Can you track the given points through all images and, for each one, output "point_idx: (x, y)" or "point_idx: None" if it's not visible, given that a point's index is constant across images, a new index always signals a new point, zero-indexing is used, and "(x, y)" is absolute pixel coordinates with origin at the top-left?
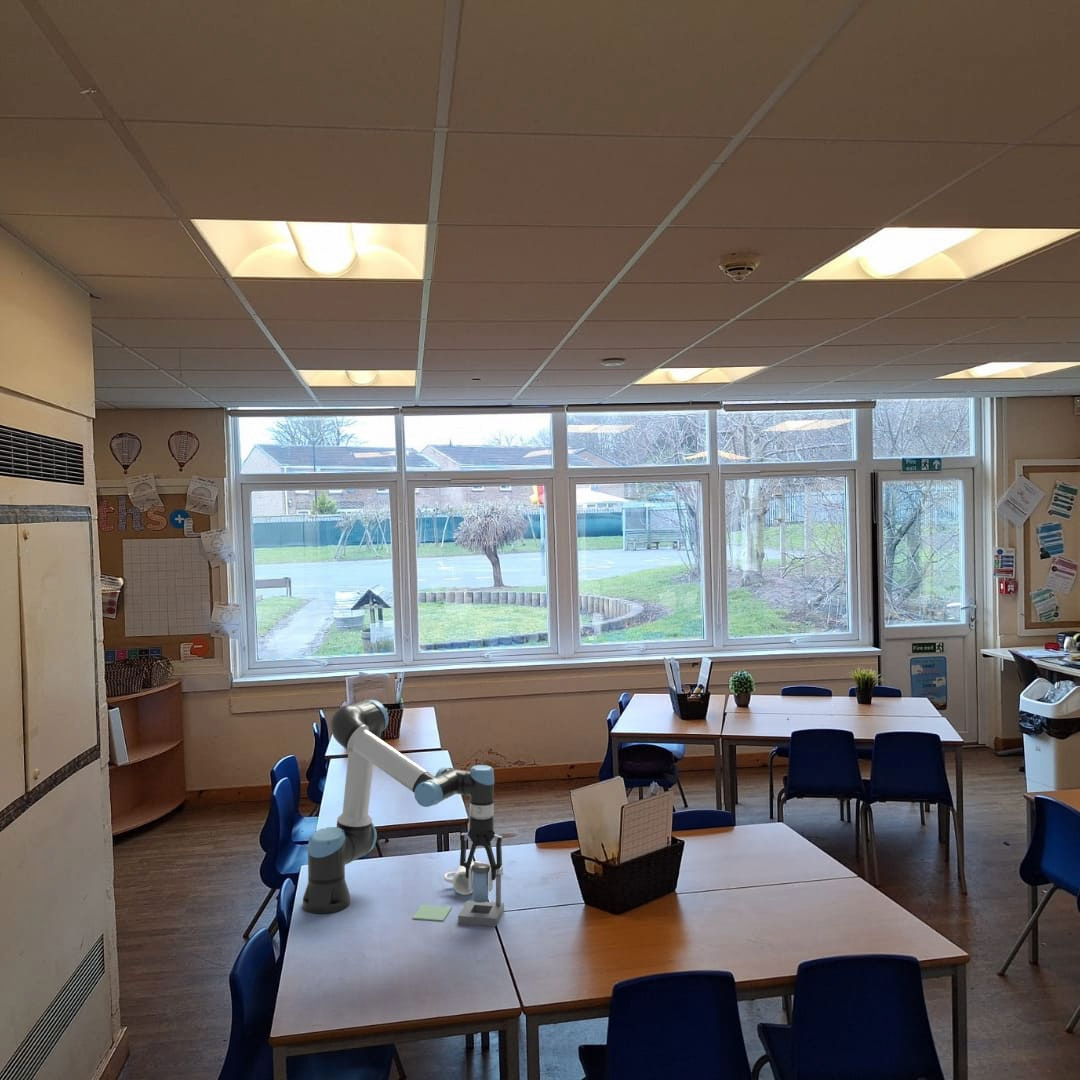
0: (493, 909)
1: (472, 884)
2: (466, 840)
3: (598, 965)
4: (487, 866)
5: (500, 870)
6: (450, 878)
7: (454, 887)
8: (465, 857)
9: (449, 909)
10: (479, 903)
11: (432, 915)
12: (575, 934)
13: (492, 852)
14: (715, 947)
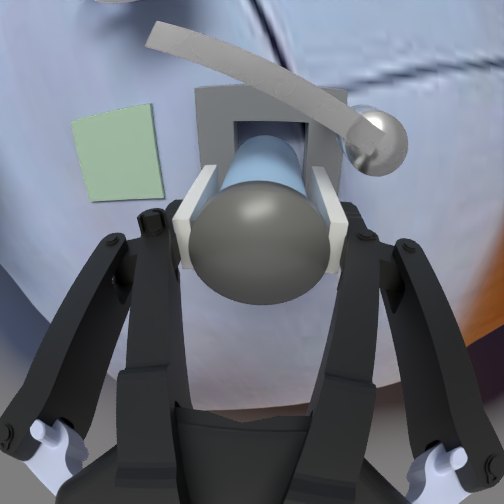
0: (316, 152)
1: (215, 178)
2: (53, 401)
3: (478, 318)
4: (309, 251)
5: (390, 168)
6: None
7: (114, 3)
8: (112, 269)
9: (150, 123)
10: (250, 106)
11: (123, 177)
12: (494, 231)
13: (373, 333)
14: None
